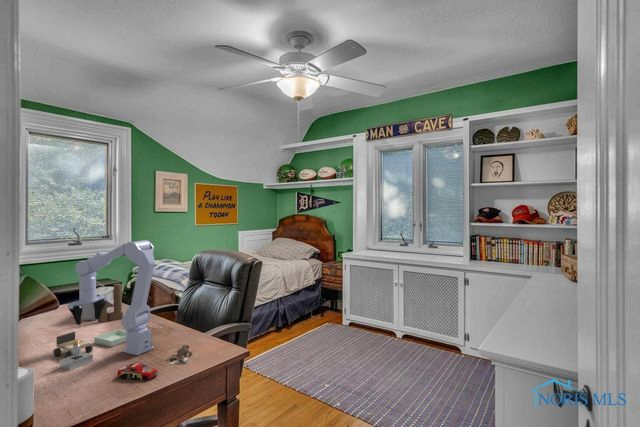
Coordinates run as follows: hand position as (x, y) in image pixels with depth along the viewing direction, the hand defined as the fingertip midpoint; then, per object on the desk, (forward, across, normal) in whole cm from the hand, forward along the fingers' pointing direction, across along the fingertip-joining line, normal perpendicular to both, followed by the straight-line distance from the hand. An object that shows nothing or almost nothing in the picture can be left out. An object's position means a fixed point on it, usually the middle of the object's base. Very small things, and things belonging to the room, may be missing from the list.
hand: (88, 321), depth 144 cm
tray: (+10, -8, +5) cm, 14 cm away
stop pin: (+10, +12, +14) cm, 21 cm away
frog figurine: (+11, -8, +44) cm, 46 cm away
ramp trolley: (+10, +8, +3) cm, 13 cm away
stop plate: (+10, +12, +14) cm, 21 cm away
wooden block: (+10, -25, -23) cm, 36 cm away
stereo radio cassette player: (+10, -28, -37) cm, 48 cm away
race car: (+11, +9, +42) cm, 44 cm away
